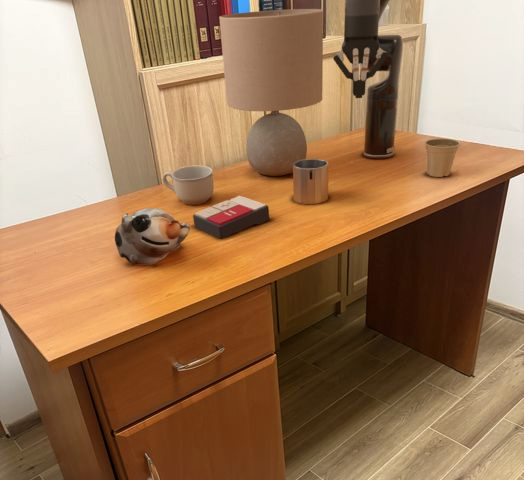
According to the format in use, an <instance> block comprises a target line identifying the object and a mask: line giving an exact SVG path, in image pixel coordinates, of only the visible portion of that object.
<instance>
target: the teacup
mask: <svg viewBox="0 0 524 480" xmlns="http://www.w3.org/2000/svg"><path fill="white" fill-rule="evenodd" d="M213 172H214V171H213V169H212V168H211V167H210V166H207V165H201V164H195V165H192V164H191V165H185V166H181V167H179V168H176V169H175V170H174V171H166V172H164V173H163V174H162V177H161V180H162V183H163V185H165V186H166V188H168V189H169V190H170V191H173V193H174V194H175V195H176V197H177V198H178V200H179V201H181V202H183V203H184V204H187V205H192V206H194V205H201V204H204V203H206V202H207V201H209V199H210V198H211V197H212V196H213V194H214V189H215V188H214V187H215V185H214V174H213ZM167 177H170V178H171V180H172V182H173V185H172V184H171V183H170V182H169V181H168V178H167Z"/></svg>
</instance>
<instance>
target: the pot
mask: <svg viewBox="0 0 524 480" xmlns="http://www.w3.org/2000/svg"><path fill="white" fill-rule="evenodd" d="M329 167H330V166H329V161H327V160H326V159H322V158H306V159H303V160H299V161H296V162H294V163H293V173H292V181H293V183H292V185H293V186H292V187H293V201H294V202H295V203H298V204H302V205H317V204H323V203H324V202H327V200H329Z"/></svg>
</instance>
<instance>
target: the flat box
mask: <svg viewBox="0 0 524 480" xmlns="http://www.w3.org/2000/svg"><path fill="white" fill-rule="evenodd" d="M192 219H193V224H194V225H193V226H194V227H195V228H197V229H198V230H201V231H203V232H206V233H207V234H209V235H213V236H214V237H217V238H218V239H224V238H226V237H228V236H231V235H233V234H236V233H237V232H240V231H242V230H245V229H247V228H249V227H251V226H254V225H258V226H259V225H261V224H263V223H266V222H267V221H268V222H269V221H270V208H269V205H267V204H266V203H263V202H260V201H257V200H254V199H250V198H248V197H245V196H243V195H238V196H235V197H233V198H230V199H226V200H224V201H221V202H219V203H216V204H214V205H212V206H209V207H206V208H203V209H200V210H198V211H195V213H194V214H193V215H192Z"/></svg>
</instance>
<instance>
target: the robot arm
mask: <svg viewBox="0 0 524 480" xmlns="http://www.w3.org/2000/svg"><path fill="white" fill-rule="evenodd" d="M390 2H391V0H344V26H343V27H344V30H343V31H344V32H343V33H344V34H343V43H342V44H341V49H339V51H337V53H335V54H333V55H332V59H333V61H334V63H336V65H337V67H338V68H339V69H340V71H341V72H342V74H343V75H344V77H345V78H346V79H348V80H349V79H350V80H352V95H353V97H355V99H362V98H363V96H365V94H366V103H365V104H366V107H365V126H364V129H365V130H364V146H363V157H365V158H367V159H368V158H369V159H374V160H376V159H378V160H380V159H381V160H383V159H388V158H391V157H393V156H394V155H395V139H396V127H397V115H398V101H399V89H400V88H399V87H400V78H401V77H400V75H401V68H402V61H403V60H402V59H403V53H404V40H403V37H402V35H400V34H380V35H379V26H380V25H379V23H380V21H381V18H382V16H383V14H384V12H385V10H386V8H387V7H388V5H389V3H390ZM345 57H346V59H347V60H348V62H349V63H350V64H351V69H352V70H351V71H352V72H351V71H350V70H349V68H347V66H346V65H345V64H344V60H345ZM359 65H360V69H359ZM359 70H360V72H359ZM377 72H388V74H387V76H386V77H385V78H384V79H382V80H380V81H378V82H376V83H373V84H370V85H369V86H368V87H367V88H366V84H367V80H369V79H371V78H373V77H374V76H375V75H376V73H377Z"/></svg>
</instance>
